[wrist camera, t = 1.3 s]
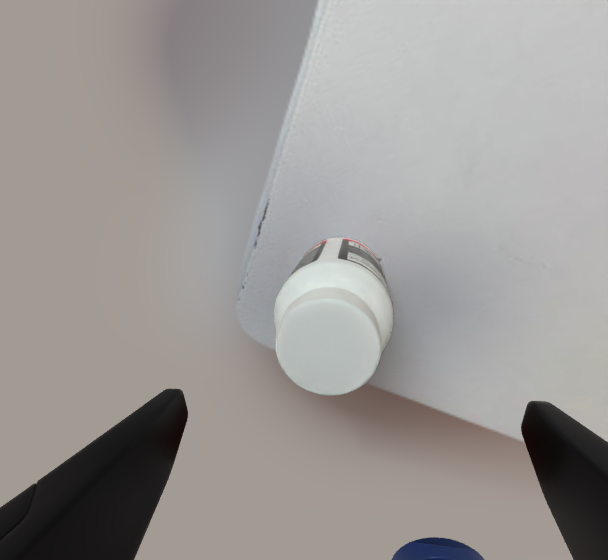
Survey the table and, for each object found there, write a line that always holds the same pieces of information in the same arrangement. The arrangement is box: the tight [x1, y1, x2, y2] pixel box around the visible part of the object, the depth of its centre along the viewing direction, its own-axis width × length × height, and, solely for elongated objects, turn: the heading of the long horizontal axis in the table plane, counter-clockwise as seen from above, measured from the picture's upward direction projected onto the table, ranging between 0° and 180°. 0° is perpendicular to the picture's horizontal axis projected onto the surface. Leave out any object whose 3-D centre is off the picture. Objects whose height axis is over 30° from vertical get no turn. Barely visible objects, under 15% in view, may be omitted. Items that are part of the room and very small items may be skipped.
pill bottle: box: [274, 237, 394, 395], centre depth 18 cm, size 5×5×10 cm
